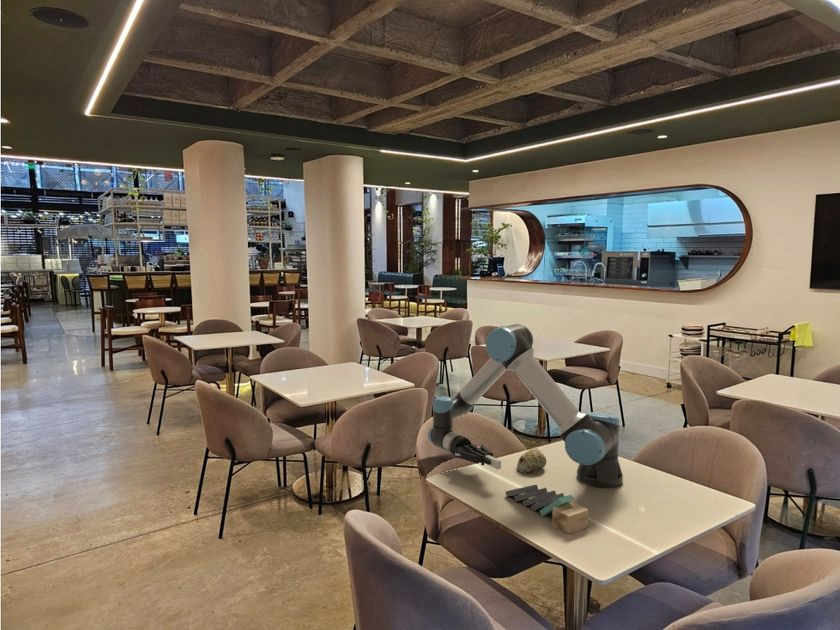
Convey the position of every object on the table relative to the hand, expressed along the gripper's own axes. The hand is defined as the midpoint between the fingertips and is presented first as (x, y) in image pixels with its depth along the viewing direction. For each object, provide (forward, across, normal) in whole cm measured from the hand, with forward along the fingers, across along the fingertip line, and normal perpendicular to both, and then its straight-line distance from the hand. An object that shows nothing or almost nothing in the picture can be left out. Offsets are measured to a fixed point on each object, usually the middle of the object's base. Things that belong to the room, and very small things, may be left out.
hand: (499, 465), depth 177 cm
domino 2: (+11, 0, -7) cm, 13 cm away
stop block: (+31, 0, -8) cm, 32 cm away
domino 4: (+18, 0, -7) cm, 20 cm away
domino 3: (+15, 0, -7) cm, 16 cm away
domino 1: (+6, 0, -7) cm, 10 cm away
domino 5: (+22, 0, -7) cm, 23 cm away
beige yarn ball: (-7, -22, -8) cm, 24 cm away
